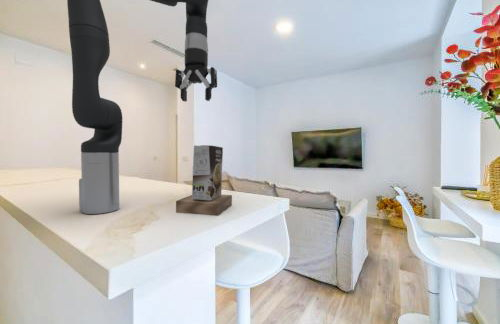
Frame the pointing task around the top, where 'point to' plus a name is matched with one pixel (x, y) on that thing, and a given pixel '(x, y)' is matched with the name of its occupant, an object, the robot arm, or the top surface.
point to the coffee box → (207, 172)
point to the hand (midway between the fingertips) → (195, 100)
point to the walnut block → (204, 205)
